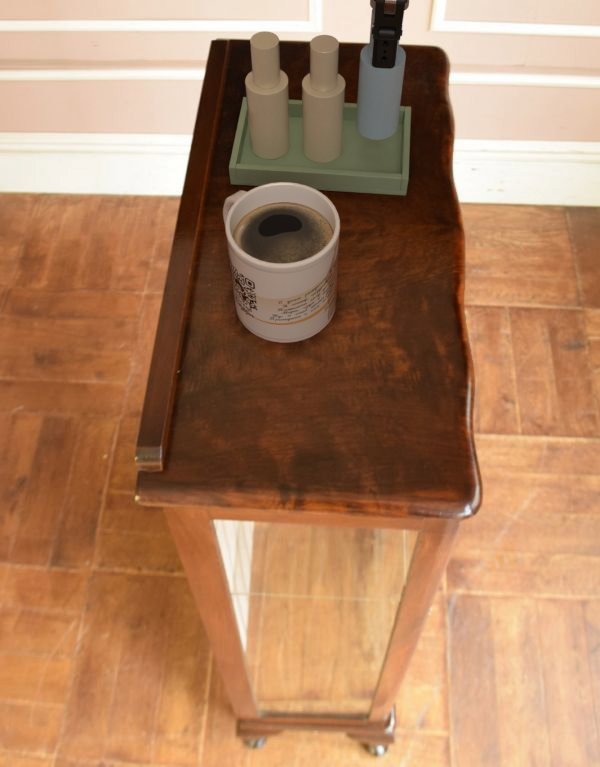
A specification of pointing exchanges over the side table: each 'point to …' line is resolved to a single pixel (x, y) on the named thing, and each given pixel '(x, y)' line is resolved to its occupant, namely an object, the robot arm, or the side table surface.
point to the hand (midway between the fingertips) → (384, 53)
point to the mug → (283, 259)
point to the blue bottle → (379, 93)
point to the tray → (346, 173)
